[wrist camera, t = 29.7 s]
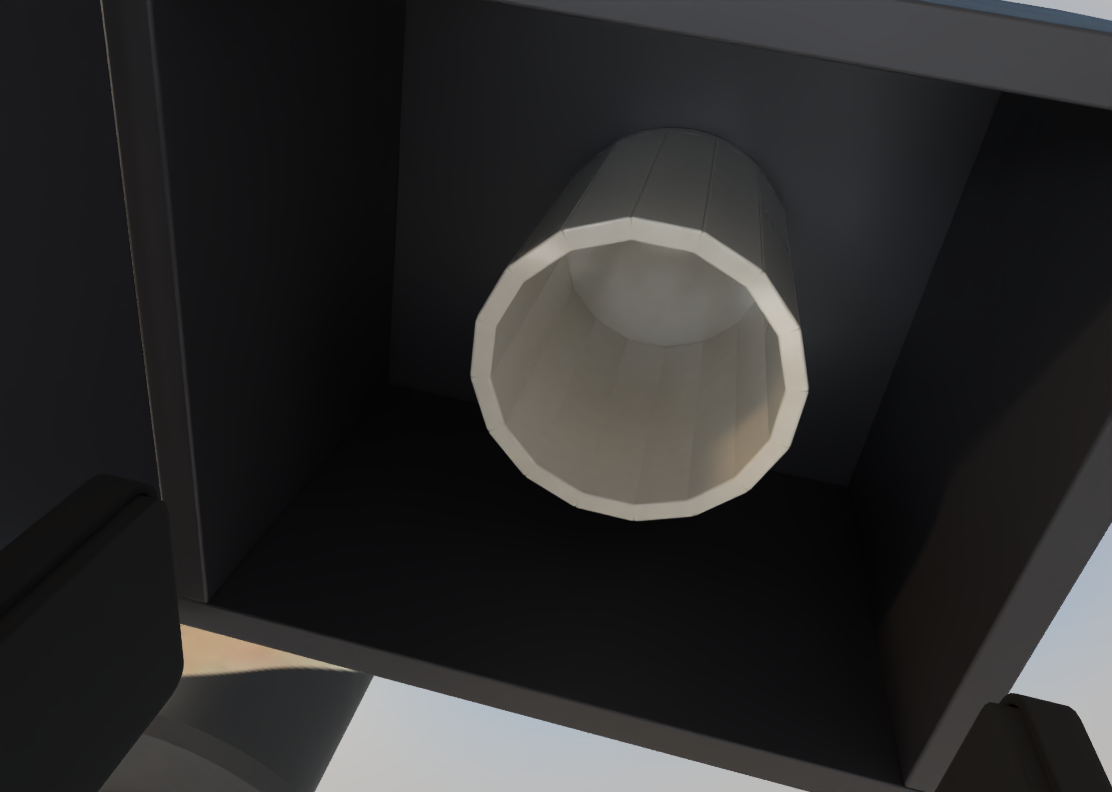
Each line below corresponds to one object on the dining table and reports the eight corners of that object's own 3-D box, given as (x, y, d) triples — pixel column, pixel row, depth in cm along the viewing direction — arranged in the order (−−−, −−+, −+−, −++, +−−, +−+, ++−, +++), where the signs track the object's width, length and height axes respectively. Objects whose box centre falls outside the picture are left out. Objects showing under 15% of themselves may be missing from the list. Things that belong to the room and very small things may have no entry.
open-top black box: (1060, 10, 18) (1383, 77, 9) (862, 499, 25) (930, 825, 16) (391, -100, 20) (80, -139, 11) (373, 387, 27) (174, 623, 17)
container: (753, 369, 23) (755, 551, 16) (542, 324, 24) (458, 480, 17) (816, 152, 20) (854, 260, 13) (574, 106, 21) (487, 188, 14)
